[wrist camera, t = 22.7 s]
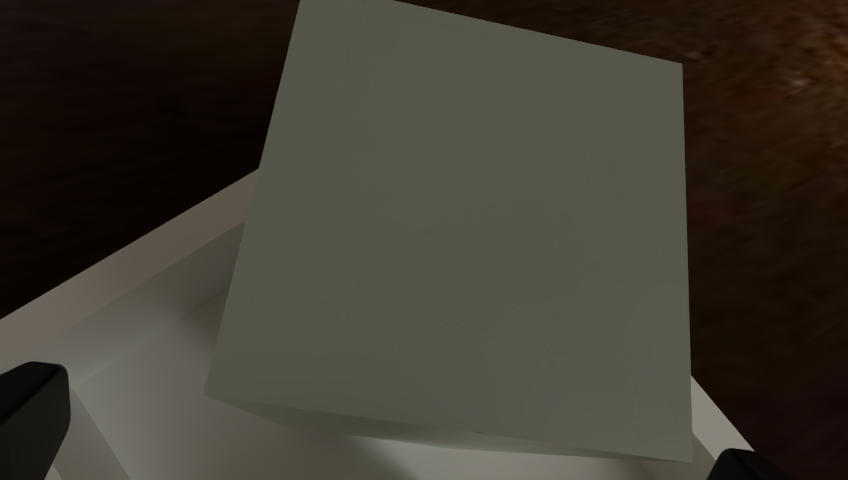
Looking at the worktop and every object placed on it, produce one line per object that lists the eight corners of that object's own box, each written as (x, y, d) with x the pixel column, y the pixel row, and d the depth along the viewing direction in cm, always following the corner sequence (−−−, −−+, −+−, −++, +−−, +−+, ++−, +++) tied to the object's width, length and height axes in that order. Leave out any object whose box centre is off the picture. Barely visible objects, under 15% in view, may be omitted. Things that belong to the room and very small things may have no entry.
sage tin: (466, 289, 20) (681, 63, 8) (450, 448, 18) (693, 462, 6) (315, 264, 19) (305, -20, 7) (283, 426, 17) (203, 394, 6)
